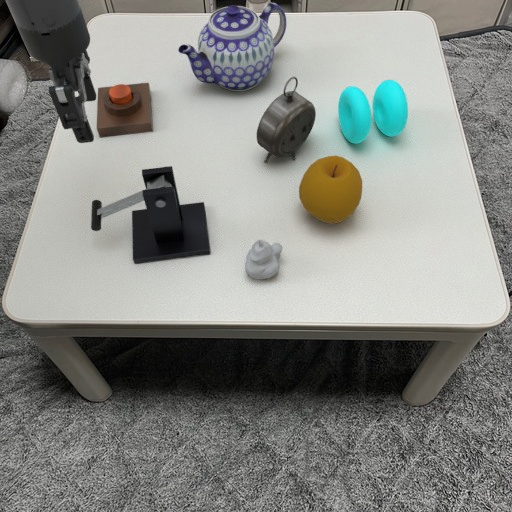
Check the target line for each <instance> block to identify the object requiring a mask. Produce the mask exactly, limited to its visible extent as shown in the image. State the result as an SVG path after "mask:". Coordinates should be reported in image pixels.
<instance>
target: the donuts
mask: <svg viewBox="0 0 512 512" xmlns="http://www.w3.org/2000/svg"><path fill="white" fill-rule="evenodd" d="M373 94H374V95H373V96H372V97H373V98H372V112H371V105H370V102H369V99H368V97H367V96H366V94H365V92H364V91H363V90H362V89H361V88H359V87H357V86H352V85H351V86H348V87H345V88H344V89H343V90H342V91H341V93H340V95H339V99H338V105H337V107H338V108H337V113H338V122H339V125H340V128H341V129H340V130H341V132H342V134H343V136H344V137H345V139H346V140H347V141H348V142H349V143H352V144H360V143H362V142H364V141H365V140H366V139H367V137H368V135H369V134H370V130H371V126H372V114H373V119H374V122H375V124H376V126H377V128H378V130H379V131H380V132H381V133H382V134H383V135H385V136H387V137H396V136H399V135H400V134H401V133H402V132H403V131H404V129H405V128H406V125H407V121H408V115H409V107H408V99H407V96H406V92H405V90H404V88H403V87H402V85H401V84H400V83H399V82H398V81H396V80H394V79H386V80H383V81H382V82H380V83H379V84H378V86H377V87H376V89H375V91H374V93H373Z"/></svg>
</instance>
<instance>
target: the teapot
mask: <svg viewBox="0 0 512 512" xmlns="http://www.w3.org/2000/svg"><path fill="white" fill-rule="evenodd" d="M275 10H276V11H277V14H278V17H279V25H278V29H277V31H276V34H275V35H274V37H273V33H272V30H271V28H270V26H269V19H270V16H271V14H272V12H274V11H275ZM286 29H287V15H286V13H285V11H284V9H283V8H282V7H281V5H279V4H277V3H276V2H269V3H267V5H266V6H265V7H264V8H263V10H262V11H261V14H258V13H257V12H256V11H254V10H253V9H252V8H249V7H246V6H242V5H237V4H231V5H228V6H224V7H221V8H219V9H216V10H215V11H213V12H211V14H210V15H209V18H208V21H207V23H205V24H204V26H203V27H202V28H201V30H200V31H199V35H198V40H197V50H196V47H193V46H192V45H191V44H190V43H184V44H181V45H180V46H178V49H177V50H178V53H179V54H181V55H182V54H183V55H186V56H187V58H188V61H189V64H190V67H191V71H192V73H193V75H194V77H195V78H196V80H197V81H199V82H200V83H203V84H208V85H209V84H211V85H212V84H213V85H214V84H215V85H218V86H219V87H221V88H223V89H224V90H228V91H231V92H246V91H249V90H251V89H254V88H255V87H257V86H258V85H259V84H260V83H261V82H262V80H264V79H265V78H266V77H267V75H269V73H270V71H271V68H272V66H273V62H274V57H275V48H276V47H277V46H278V45H279V44H280V43H281V41H282V40H283V38H284V37H285V36H284V35H285V33H286Z"/></svg>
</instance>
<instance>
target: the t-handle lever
mask: <svg viewBox="0 0 512 512" xmlns="http://www.w3.org/2000/svg"><path fill="white" fill-rule="evenodd" d="M163 187H172V184H171V183H170V182H169V181H168V180H167V179H166V177H165V176H164V175H162V176H160V177H157V178H155V179H153V180H150V181H148V182H147V189H155V188H163ZM147 189H146V188H145V189H144V190H147ZM142 202H145V201H144V198H143V190H140V191H138V192H135V193H133V194H131V195H129V196H126V197H124V198H121V199H119V200H116V201H114V202H112V203H110V204H107V205H105V206H103V203H102V201H101V200H99V199H93V200H92V201H91V216H90V229H91V231H93V232H99V231H101V230H102V219H104V218H106V217H108V216H112V215H113V214H116V213H118V212H121V211H122V210H126V209H128V208H130V207H133V206H135V205H137V204H140V203H142Z"/></svg>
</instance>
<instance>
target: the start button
mask: <svg viewBox="0 0 512 512" xmlns="http://www.w3.org/2000/svg"><path fill="white" fill-rule="evenodd" d="M127 85H128V84H123V83H121V84H120V83H119V84H116V85H115V84H114V85H113V87H112V88H111V89H110V90H109V94H110V98H111V101H112V103H114V104H116V105H124V104H127V103H129V102H130V101H131V100H132V93H131V89H130V87H129V86H127Z"/></svg>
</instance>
